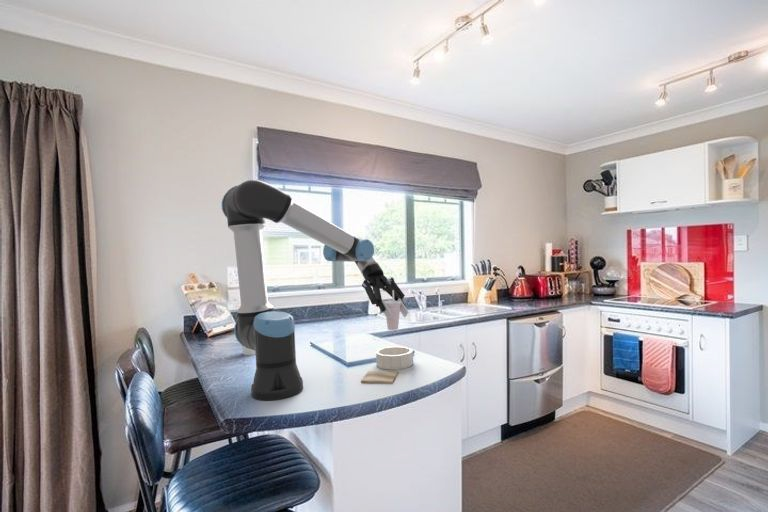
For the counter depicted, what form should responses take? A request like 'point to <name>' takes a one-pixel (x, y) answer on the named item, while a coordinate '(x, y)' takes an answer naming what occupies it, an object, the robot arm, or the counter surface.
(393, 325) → the smoothie
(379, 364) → the bowl
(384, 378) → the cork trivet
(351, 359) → the counter surface
